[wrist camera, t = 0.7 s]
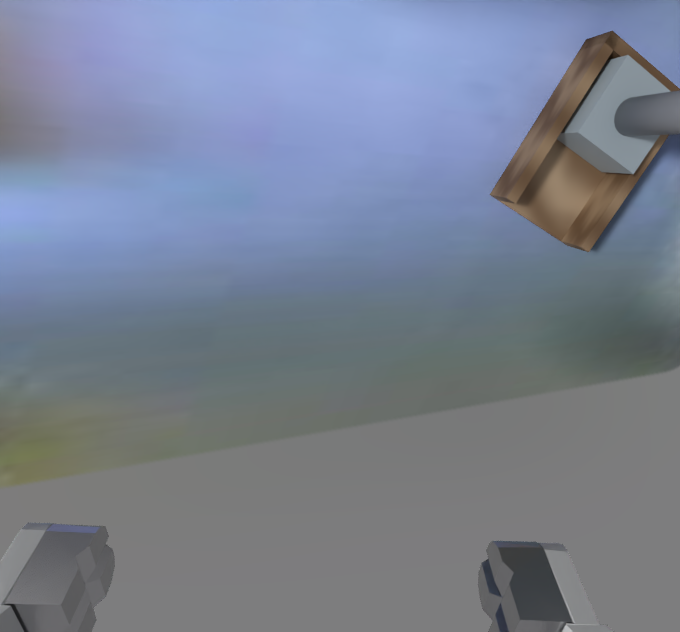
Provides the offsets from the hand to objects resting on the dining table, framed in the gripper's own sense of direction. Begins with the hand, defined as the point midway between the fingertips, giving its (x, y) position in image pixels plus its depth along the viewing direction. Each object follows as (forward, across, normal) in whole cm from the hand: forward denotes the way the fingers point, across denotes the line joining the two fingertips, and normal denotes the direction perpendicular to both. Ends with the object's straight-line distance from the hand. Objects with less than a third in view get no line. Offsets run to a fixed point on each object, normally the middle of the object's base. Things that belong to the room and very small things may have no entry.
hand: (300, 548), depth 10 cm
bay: (+50, -28, +1) cm, 57 cm away
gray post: (+50, -29, -2) cm, 58 cm away
